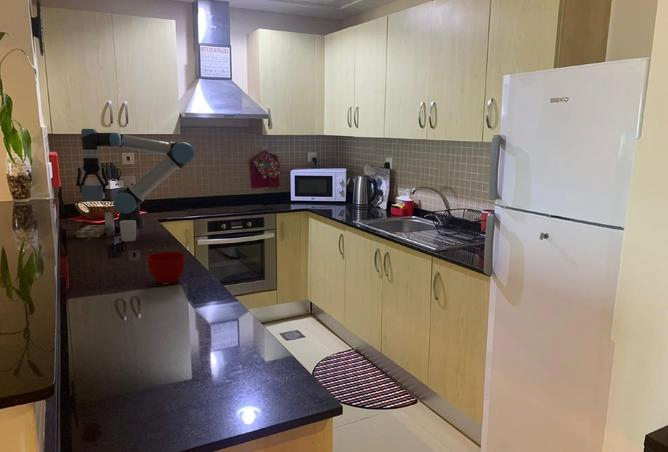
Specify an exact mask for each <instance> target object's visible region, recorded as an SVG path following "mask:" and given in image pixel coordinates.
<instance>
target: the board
mask: <svg viewBox="0 0 668 452" xmlns="http://www.w3.org/2000/svg"><path fill="white" fill-rule="evenodd" d="M104 234H106V225H105V224H100V225H99V224H95V225H93V224H92V225H91V224H90V225H88V224H87V225H86V226H85V227H82V228H80V229H79V230H77V231H76V232H75V235H76V236H75V238H78V239H79V238H99V237H101V236H102V235H104Z"/></svg>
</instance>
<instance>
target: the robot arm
mask: <svg viewBox="0 0 668 452" xmlns="http://www.w3.org/2000/svg"><path fill="white" fill-rule="evenodd" d="M80 133H81V136H80V138H81V147H82V157H83V158H82V162H83V163H82V164H83V167H78V168H77V176H76V183H75V185H76V186H77V187H79V191H80V192H79V193H81V194H82V188H81V186H82V185H86V184H85V183H86V182H87V179H88V176H90V175H92V176H93V175H94V176H96V178H97V180H98V181H99V184H101V185H102V187H101V195H102V200H104V199H106V196H105V197H104V194H106V192H107V187H108V186H109V185H110V183H109V179H108V177H107V172H106V168H105V167H100V162H99V152H98V151H99V150H98V147H110V148H111V147H112V148H113V147H114V148H116V147H117V148H121V149H128V150H133V151H134V150H135V151H140V152H145V153H152V154H157V155H162V156H165V157H164V158H163V159H162V160H161V161H160V162H159V163H157V164H156V165H155V166H154V167H153V168H151V170H149V171H148V172H147V173H146V174H145V175H143V176H142V177H141V178H140V179H139V180H137V182H135V183H134V184H133V185H127V186H126V187H120V188H119V187H118V189H117V194H116V195H115V196H114V198H113V207H114V209H115V210H116V211H117V212H118V216H117V221H116V224H115V225H116V229H120V223H119V222H120V221H124V220H135V221H136V229H139V228H143V227H144V226H145V221H144V219H143V217H142V215H141V207H140V205H141V204H142V203H143V202H145V197H146V196H148V194H149V193H151V192H152V191H153V190H154V189H155V188H157V186H158V185H160V184H161V183H162V182H163V181H164V180H166V179H167V178H168V177H169V176H170V175H171V174H173V172H175V171H176V170H181V169H183V167H185V166H186V165H188V163H190V162H191V161H193V159H194V157H195V149H194V146H192V144H190V143H189V142H185V141H181V142H180V141H172V140H171V141H169V142H167V141H163V140H156V139H151V138H145V137H138V136H134V135H127V134H121V133H120V132H97V129H96V128H82V129H81V130H80ZM83 171H84V176H83V178H82V175H83V173H82V172H83ZM99 171H100V172H101V175H100V173H99ZM101 176H102V177H101Z"/></svg>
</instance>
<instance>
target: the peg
mask: <svg viewBox="0 0 668 452" xmlns="http://www.w3.org/2000/svg"><path fill="white" fill-rule="evenodd" d="M104 221H105V224H104V225H106V233H105V235H106V236H108V237H109V236H111V237H112V236H115V235H116V231H115V213H114V212H104Z"/></svg>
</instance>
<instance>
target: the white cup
mask: <svg viewBox="0 0 668 452" xmlns="http://www.w3.org/2000/svg"><path fill="white" fill-rule="evenodd" d="M119 223H120V228H119V229H120V236H121V242H125V243H126V242H135V241H136V240H137V228H136V221H135V220H124V221H120V222H119Z"/></svg>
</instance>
